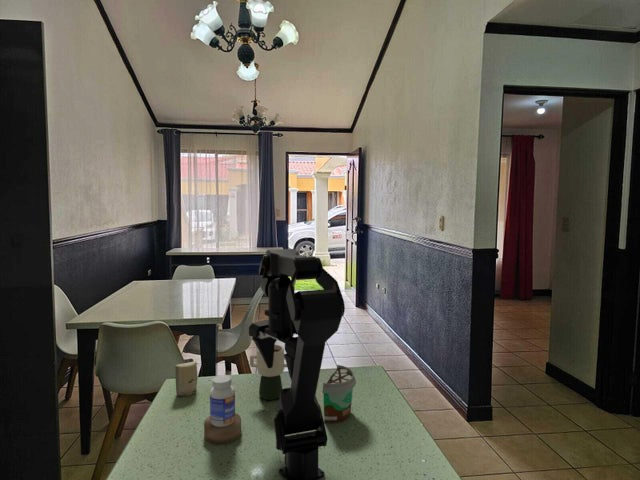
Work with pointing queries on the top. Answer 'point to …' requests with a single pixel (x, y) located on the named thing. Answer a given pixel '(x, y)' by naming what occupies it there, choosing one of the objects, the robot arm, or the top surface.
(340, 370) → the food container
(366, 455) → the top surface
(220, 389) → the pill bottle
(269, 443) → the top surface
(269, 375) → the character mug
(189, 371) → the beige rounded block
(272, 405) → the top surface
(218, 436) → the brown round smooth part
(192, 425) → the top surface
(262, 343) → the robot arm
